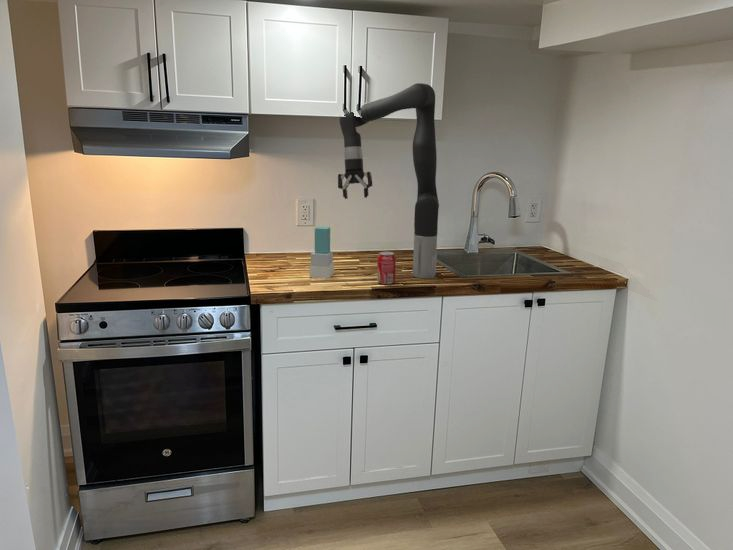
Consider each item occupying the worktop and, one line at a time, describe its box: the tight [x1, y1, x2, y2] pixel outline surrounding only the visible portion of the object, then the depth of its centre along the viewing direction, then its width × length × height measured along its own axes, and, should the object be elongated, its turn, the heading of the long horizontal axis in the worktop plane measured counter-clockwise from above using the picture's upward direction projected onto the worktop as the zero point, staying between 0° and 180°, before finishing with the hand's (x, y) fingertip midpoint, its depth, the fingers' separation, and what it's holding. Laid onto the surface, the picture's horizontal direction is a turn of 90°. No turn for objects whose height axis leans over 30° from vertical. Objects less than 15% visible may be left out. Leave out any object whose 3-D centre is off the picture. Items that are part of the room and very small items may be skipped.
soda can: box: [376, 251, 397, 285], centre depth 213 cm, size 7×7×12 cm
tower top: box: [310, 250, 334, 267], centre depth 220 cm, size 7×7×5 cm
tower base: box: [308, 262, 335, 280], centre depth 222 cm, size 8×8×5 cm
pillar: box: [314, 225, 331, 254], centre depth 219 cm, size 5×5×10 cm
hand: (355, 198), depth 228 cm, fingers open, 8 cm apart
